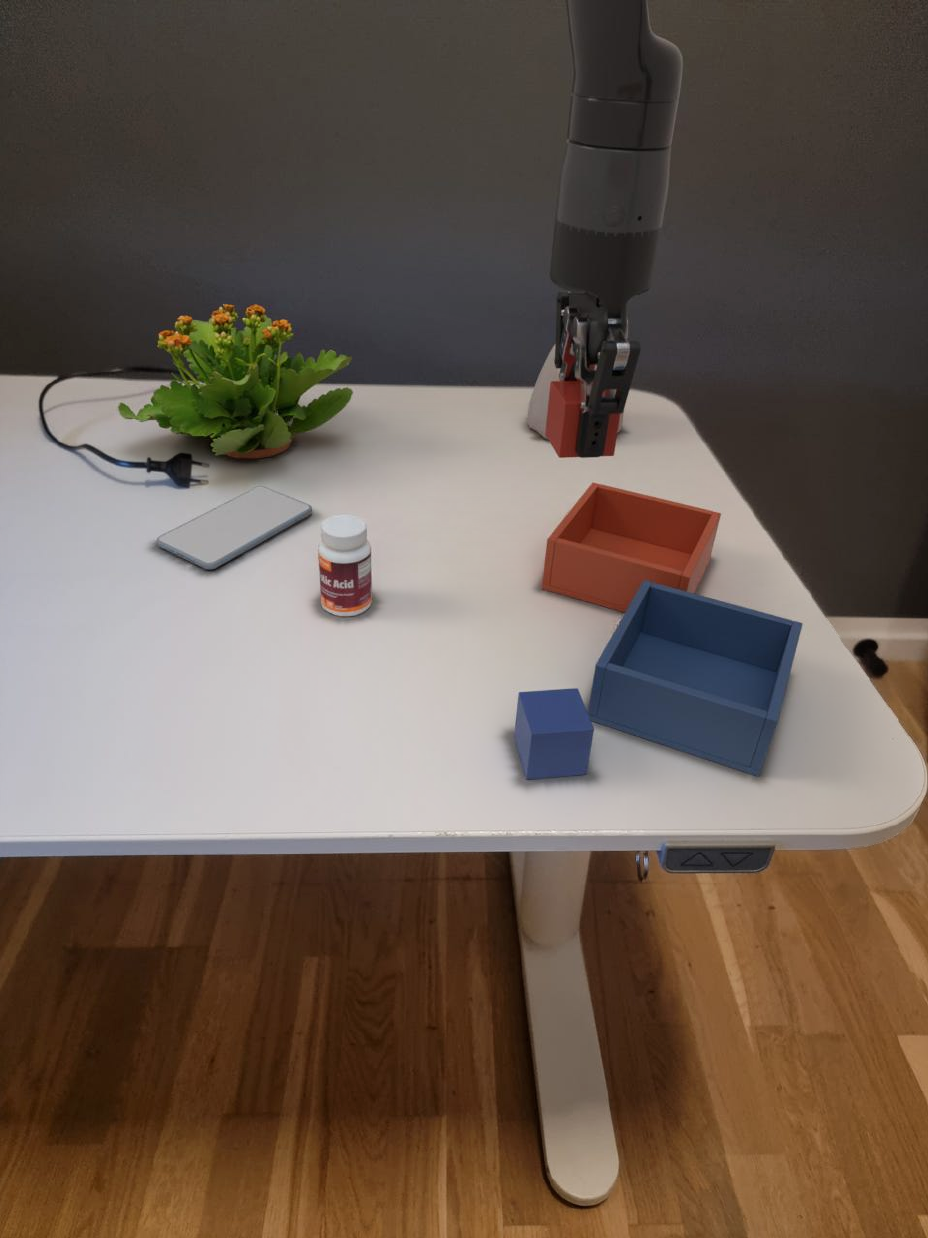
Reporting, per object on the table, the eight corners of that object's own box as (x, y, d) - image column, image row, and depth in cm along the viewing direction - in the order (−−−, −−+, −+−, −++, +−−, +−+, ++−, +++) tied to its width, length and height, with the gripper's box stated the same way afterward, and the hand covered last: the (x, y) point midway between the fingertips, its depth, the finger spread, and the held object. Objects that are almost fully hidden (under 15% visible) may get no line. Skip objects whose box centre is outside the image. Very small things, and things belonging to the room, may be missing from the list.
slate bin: (785, 675, 75) (803, 622, 72) (758, 777, 65) (777, 721, 61) (633, 630, 79) (643, 579, 76) (586, 719, 69) (595, 664, 66)
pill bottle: (311, 610, 80) (305, 530, 75) (336, 584, 83) (332, 507, 78) (357, 623, 78) (354, 543, 73) (381, 596, 82) (379, 518, 77)
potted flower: (250, 392, 122) (236, 262, 112) (393, 431, 113) (392, 293, 103) (114, 456, 104) (83, 307, 94) (272, 507, 95) (256, 350, 85)
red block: (597, 432, 73) (605, 379, 70) (614, 456, 69) (622, 401, 67) (544, 434, 72) (550, 380, 69) (558, 458, 68) (565, 402, 66)
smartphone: (152, 538, 87) (260, 483, 97) (153, 547, 88) (261, 491, 98) (209, 566, 83) (315, 506, 93) (210, 574, 84) (316, 514, 94)
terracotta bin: (709, 560, 90) (721, 512, 87) (678, 628, 80) (690, 577, 77) (585, 528, 94) (592, 481, 91) (541, 588, 84) (546, 539, 81)
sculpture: (562, 454, 110) (576, 335, 101) (509, 421, 118) (518, 308, 109) (638, 436, 115) (658, 322, 107) (583, 405, 123) (598, 297, 115)
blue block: (571, 732, 68) (578, 687, 65) (586, 775, 64) (594, 729, 61) (513, 736, 67) (518, 691, 64) (526, 780, 63) (531, 734, 61)
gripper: (698, 239, 56) (653, 479, 66) (627, 196, 67) (597, 406, 77) (586, 238, 54) (557, 483, 64) (533, 195, 66) (515, 408, 76)
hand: (579, 440), depth 71 cm, fingers closed on red block, 4 cm apart
